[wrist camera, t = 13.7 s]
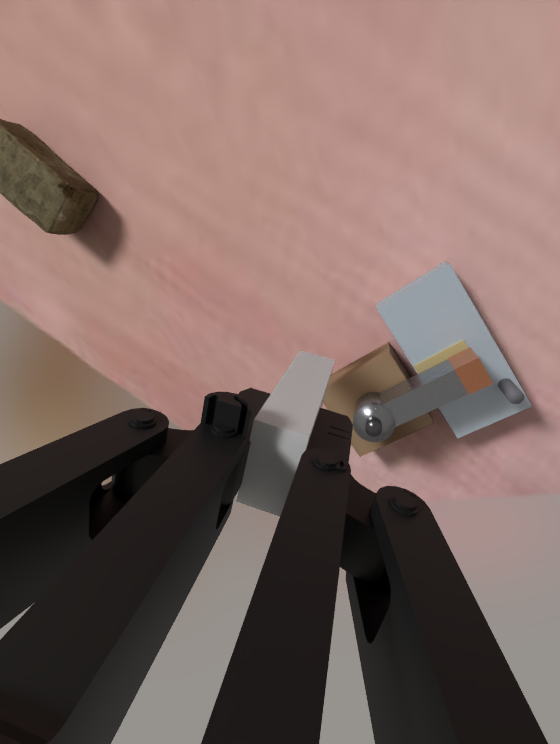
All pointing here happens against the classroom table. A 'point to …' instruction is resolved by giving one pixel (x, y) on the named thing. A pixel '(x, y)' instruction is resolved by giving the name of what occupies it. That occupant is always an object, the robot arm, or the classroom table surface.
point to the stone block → (42, 182)
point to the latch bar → (418, 395)
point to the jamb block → (370, 376)
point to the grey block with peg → (452, 345)
